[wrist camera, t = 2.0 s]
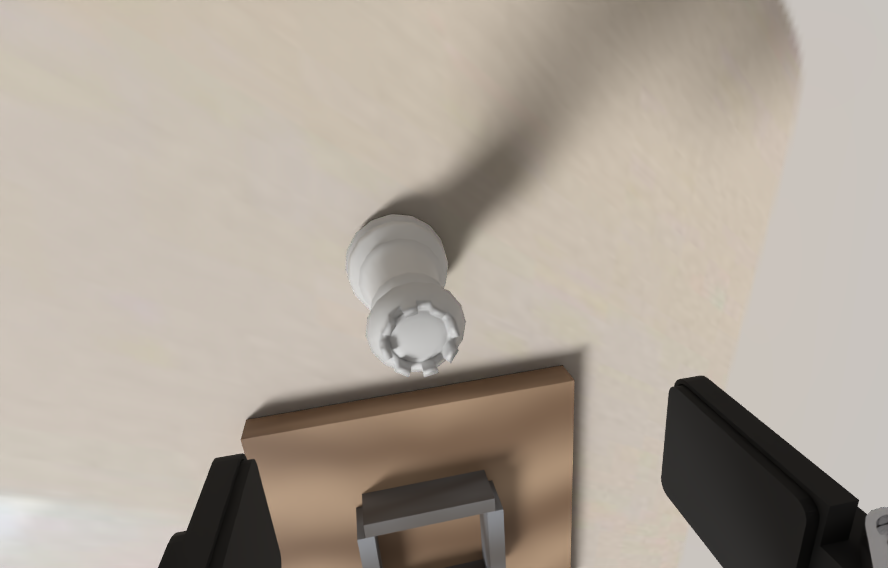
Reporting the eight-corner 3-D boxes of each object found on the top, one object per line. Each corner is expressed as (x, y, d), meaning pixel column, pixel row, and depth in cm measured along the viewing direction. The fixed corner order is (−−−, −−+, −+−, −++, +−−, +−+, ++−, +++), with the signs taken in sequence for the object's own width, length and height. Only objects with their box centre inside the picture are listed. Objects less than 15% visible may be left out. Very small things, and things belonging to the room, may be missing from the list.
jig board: (246, 419, 25) (232, 470, 22) (562, 365, 27) (592, 403, 24) (306, 639, 31) (302, 704, 28) (560, 580, 33) (583, 634, 30)
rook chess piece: (352, 311, 24) (356, 414, 16) (338, 217, 22) (337, 284, 15) (447, 298, 24) (492, 392, 17) (440, 206, 23) (488, 265, 15)
